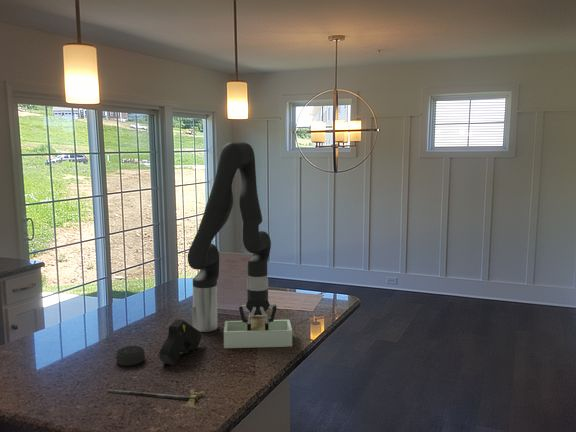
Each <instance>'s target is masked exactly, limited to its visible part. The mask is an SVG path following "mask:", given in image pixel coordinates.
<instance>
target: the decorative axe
mask: <svg viewBox="0 0 576 432" xmlns="http://www.w3.org/2000/svg"><path fill="white" fill-rule="evenodd" d="M189 391H190V393H188V395H190V396H188V395H177V394H167V393H166V394H165V393H164V394H163V393H153V392H145V391H144V392H143V391H131V390H120V389H109V388H108V389H107V390H106V393H110V394H111V393H112V394H120V395H121V394H122V395H130V396H141V397H150V398H151V397H152V398H161V399H172V400H173V399H174V400H181V401H182V400H184V401H187V402H186V403H184V404H182V405H181V407H182V406H183V407H187V408H197V409H201V408H203V406H196V405H195V402H198V401H199V396H201V395H206V394H205V391H203V390H201V391H200V392H198V391H196V390H195V389H190V390H189Z"/></svg>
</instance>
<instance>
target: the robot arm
mask: <svg viewBox="0 0 576 432" xmlns="http://www.w3.org/2000/svg"><path fill="white" fill-rule="evenodd" d="M254 151H255V150H254V149H253V147H252V145H251V144H249V143H247V142H244V141H242V142H241V141H239V142H227V143H226V144H225V145H224V146H223V147H222V150H221V152H220V155H219V160H218V163H217V169H216V174H215V176H214V181H213V184H212V187H211V190H210V193H209V197H208V198H207V201H206V205H205V207H204V210H203V211H204V212H203V214H202V218H201V221H200V223H199V225H198V229H197V232H196V234H195V236H194V238H193V241H192V242H191V245H190V247H189V250H188V253H187V263H188V265H189V267H190V268H191V269H192V270H195V271H198V270H199V271H198V273H197V274H196V275H195V276H194V277H193V278H192V309H191V310H192V326H193V327H194V328H195V329H197V330H198V331H200V332H201V333H207V332H208V333H209V332H213V331H216V330H217V329H218V279H219V276H220V252H219V249H218V247H217V246H216V245H215V243H212V242H213V240H214V238H215V237H216V236H217V234H218V233H219V232H220V231H221V229H223V227H224V226H225V224H226V223H227V222H228V220H229V217H230V215H231V212H232V210H233V206H234V193H233V182H234V178H235V176H236V173H237V170H239V173H240V177H241V178H240V179H241V188H240V194H239V210H240V215H241V219H242V243H243V246H244V249H245V250H246V251H247V252H248V253H250V254H252V257H251V258H250V259H248V262H247V281H246V289H247V290H246V292H247V293H246V295H247V297H246V299H247V301H246V303H245V304H243V305H242V304H240V305H238V309H239V314H240V318H241V321H242V322H245V323H247V331H251V318H253V315H263V318H265V330H269V329H268V324H269V322H273V321H274V320H275V315H276V312H277V308H278V307H277V304H276V303H275V304H272V303H270V302H269V278H268V263H269V262H268V261H269V258H270V253H271V249H272V248H271V247H272V241H271V237H270V234H269V233H268V232H266V231H263V230H260V229H259V227H260V225H261V224H262V222H263V216H262V211H261V206H260V201H259V195H258V188H257V187H258V186H257V174H256V172H257V171H256V158H255V152H254ZM269 308H270V311H271V313H270V316H269V317H268V314H267V311H268V310H269ZM246 309H247V310H248V311H249V314H248V317H246V315H245V311H246Z"/></svg>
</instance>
